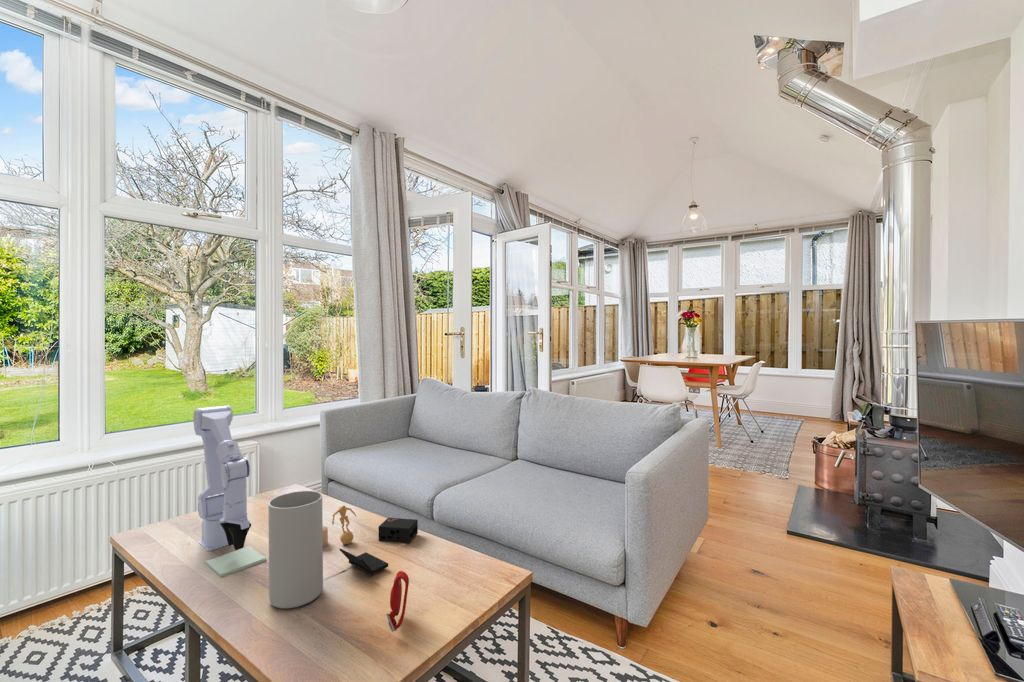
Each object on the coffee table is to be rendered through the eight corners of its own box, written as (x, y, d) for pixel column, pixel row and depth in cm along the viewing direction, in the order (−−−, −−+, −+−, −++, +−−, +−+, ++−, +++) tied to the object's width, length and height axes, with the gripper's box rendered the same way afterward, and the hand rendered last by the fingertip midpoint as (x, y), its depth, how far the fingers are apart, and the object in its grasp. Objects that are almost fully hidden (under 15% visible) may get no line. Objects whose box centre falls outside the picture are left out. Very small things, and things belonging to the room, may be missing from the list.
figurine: (338, 550, 139) (337, 512, 139) (328, 544, 143) (328, 507, 143) (361, 540, 145) (361, 504, 145) (351, 535, 149) (351, 500, 149)
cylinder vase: (287, 616, 106) (286, 512, 106) (259, 600, 113) (258, 502, 112) (333, 590, 117) (332, 496, 116) (304, 577, 123) (303, 487, 123)
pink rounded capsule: (308, 545, 142) (307, 530, 142) (323, 540, 146) (323, 525, 146) (315, 550, 139) (315, 534, 139) (330, 544, 143) (330, 529, 143)
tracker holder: (393, 605, 110) (393, 565, 110) (411, 604, 111) (411, 564, 111) (383, 637, 98) (383, 593, 98) (404, 636, 99) (403, 592, 99)
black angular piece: (393, 557, 130) (375, 538, 125) (380, 582, 125) (361, 563, 120) (364, 553, 135) (346, 535, 130) (351, 577, 130) (332, 558, 125)
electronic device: (409, 544, 144) (409, 528, 144) (378, 541, 145) (378, 526, 145) (417, 533, 151) (417, 519, 151) (388, 531, 153) (388, 517, 153)
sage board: (205, 564, 130) (205, 561, 130) (249, 549, 140) (249, 546, 140) (220, 578, 123) (220, 574, 123) (266, 560, 132) (266, 557, 132)
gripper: (211, 499, 133) (211, 544, 133) (229, 510, 124) (230, 559, 124) (237, 492, 138) (237, 536, 138) (257, 503, 129) (257, 549, 129)
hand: (235, 546), depth 131 cm, fingers open, 4 cm apart
